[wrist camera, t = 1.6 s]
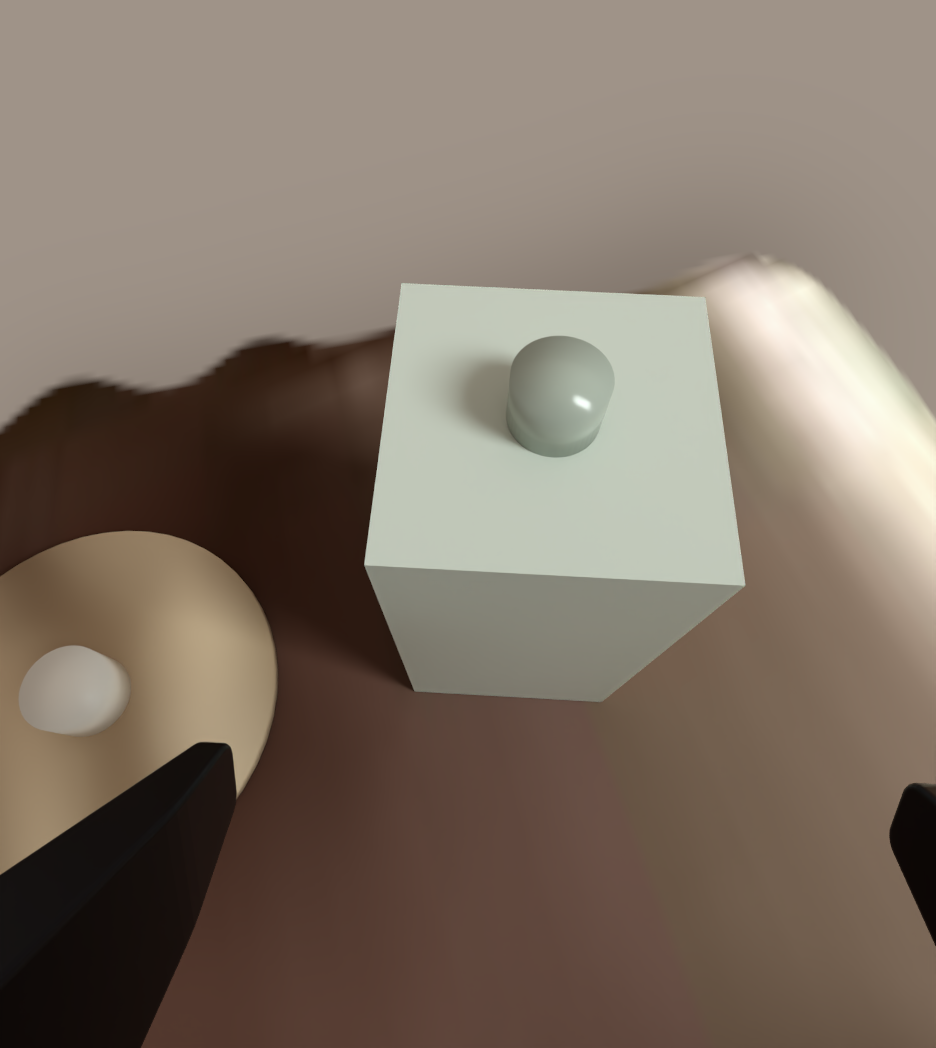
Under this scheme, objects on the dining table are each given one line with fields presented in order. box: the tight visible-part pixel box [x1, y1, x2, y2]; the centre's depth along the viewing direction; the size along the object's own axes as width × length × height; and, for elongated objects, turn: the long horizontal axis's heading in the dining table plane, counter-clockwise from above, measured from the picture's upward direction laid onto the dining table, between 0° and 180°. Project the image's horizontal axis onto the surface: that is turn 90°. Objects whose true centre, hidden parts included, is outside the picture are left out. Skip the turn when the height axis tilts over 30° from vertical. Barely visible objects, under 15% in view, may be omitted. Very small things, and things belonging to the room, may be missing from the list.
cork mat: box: [0, 531, 278, 874], centre depth 21 cm, size 12×12×1 cm
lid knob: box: [18, 645, 131, 737], centre depth 20 cm, size 3×3×2 cm
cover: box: [364, 283, 745, 702], centre depth 17 cm, size 6×6×13 cm
